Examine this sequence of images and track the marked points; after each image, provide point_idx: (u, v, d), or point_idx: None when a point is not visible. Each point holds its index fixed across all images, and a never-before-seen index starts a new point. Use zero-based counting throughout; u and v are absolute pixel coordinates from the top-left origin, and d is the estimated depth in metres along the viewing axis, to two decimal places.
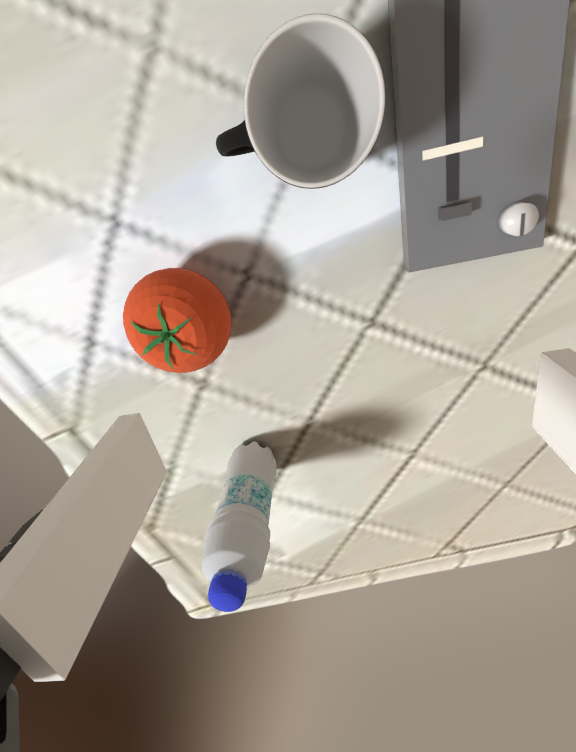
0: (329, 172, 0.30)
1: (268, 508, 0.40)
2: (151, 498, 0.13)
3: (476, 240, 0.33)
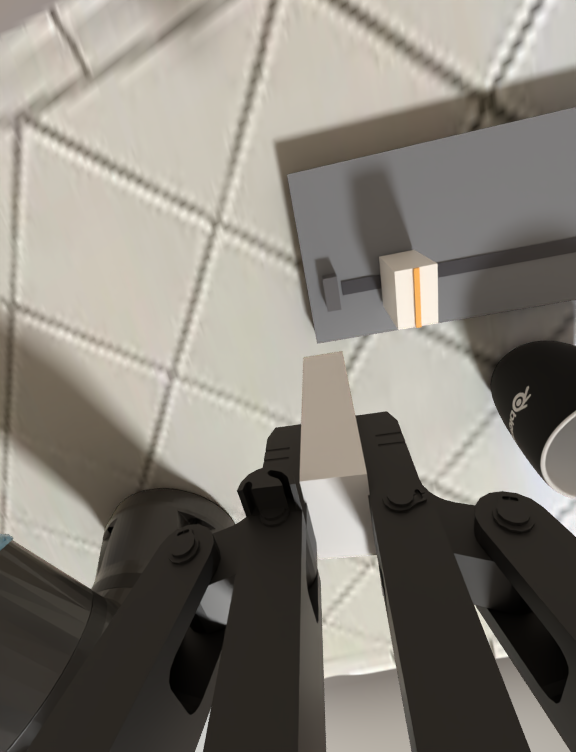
0: None
1: None
2: None
3: None
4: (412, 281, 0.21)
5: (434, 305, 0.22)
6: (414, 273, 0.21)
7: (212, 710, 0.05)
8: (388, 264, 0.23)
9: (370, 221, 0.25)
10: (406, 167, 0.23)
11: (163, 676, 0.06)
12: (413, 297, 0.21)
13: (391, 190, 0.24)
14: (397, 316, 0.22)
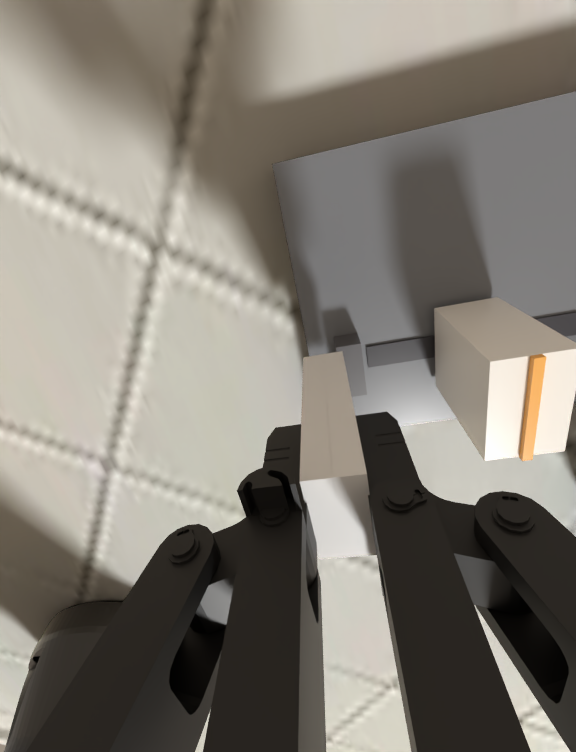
0: None
1: None
2: None
3: None
4: (525, 379, 0.10)
5: (562, 421, 0.11)
6: (532, 365, 0.10)
7: (212, 710, 0.05)
8: (464, 334, 0.12)
9: (421, 248, 0.14)
10: (496, 150, 0.12)
11: (163, 676, 0.06)
12: (522, 408, 0.11)
13: (464, 193, 0.13)
14: (485, 438, 0.11)
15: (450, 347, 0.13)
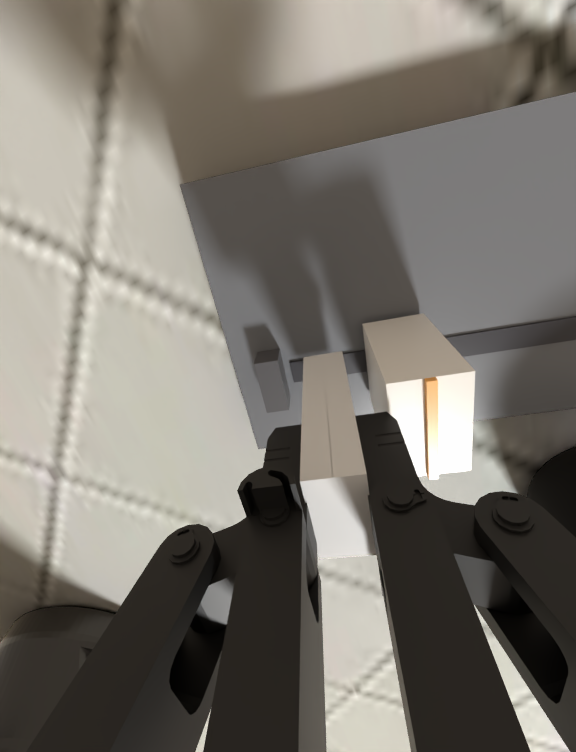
0: None
1: None
2: None
3: None
4: (422, 401, 0.10)
5: (464, 442, 0.11)
6: (427, 388, 0.10)
7: (212, 710, 0.05)
8: (376, 353, 0.12)
9: (334, 267, 0.14)
10: (397, 172, 0.12)
11: (163, 676, 0.06)
12: (424, 429, 0.11)
13: (370, 214, 0.13)
14: None
15: (371, 364, 0.13)
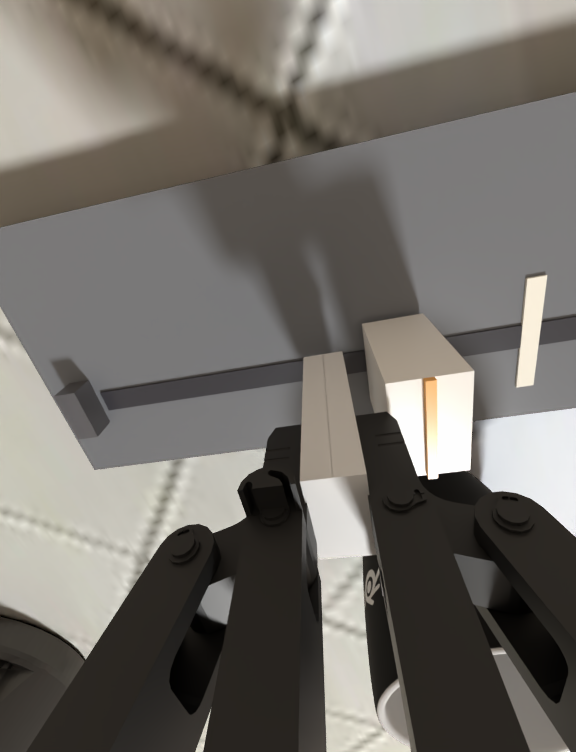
0: None
1: None
2: None
3: None
4: (421, 401, 0.10)
5: (464, 442, 0.11)
6: (426, 388, 0.10)
7: (212, 710, 0.05)
8: (375, 352, 0.12)
9: (117, 308, 0.15)
10: (149, 227, 0.14)
11: (164, 676, 0.06)
12: (423, 429, 0.11)
13: (136, 263, 0.14)
14: None
15: (371, 364, 0.13)
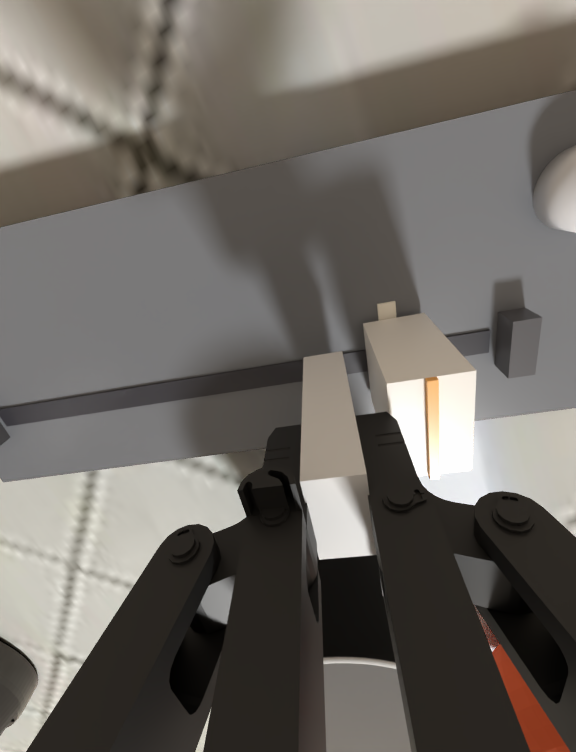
0: None
1: None
2: None
3: None
4: (423, 401, 0.10)
5: (466, 442, 0.11)
6: (428, 388, 0.10)
7: (212, 710, 0.05)
8: (376, 352, 0.12)
9: None
10: (17, 257, 0.14)
11: (163, 676, 0.06)
12: (425, 429, 0.11)
13: (10, 289, 0.15)
14: None
15: (372, 364, 0.13)
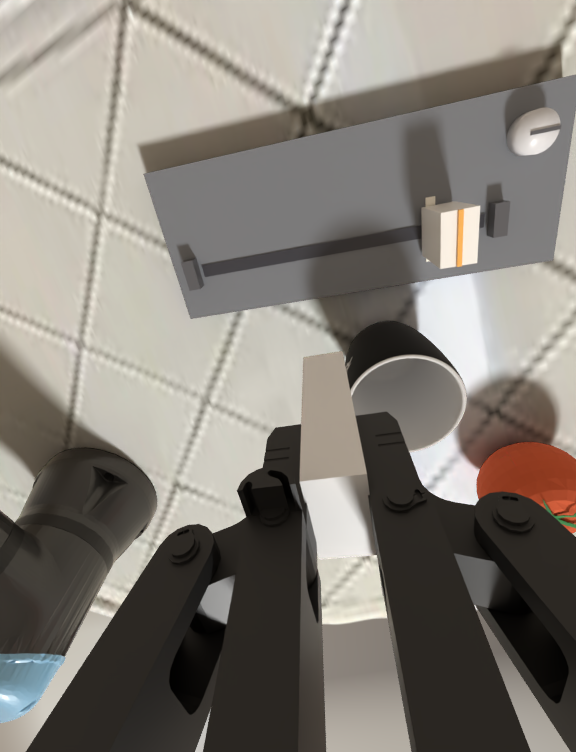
0: None
1: None
2: None
3: (540, 179, 0.27)
4: (456, 222, 0.24)
5: (474, 245, 0.24)
6: (458, 215, 0.23)
7: (212, 710, 0.05)
8: (433, 210, 0.25)
9: (217, 214, 0.29)
10: (239, 169, 0.28)
11: (163, 676, 0.06)
12: (456, 238, 0.24)
13: (230, 188, 0.28)
14: (440, 256, 0.25)
15: (428, 223, 0.27)
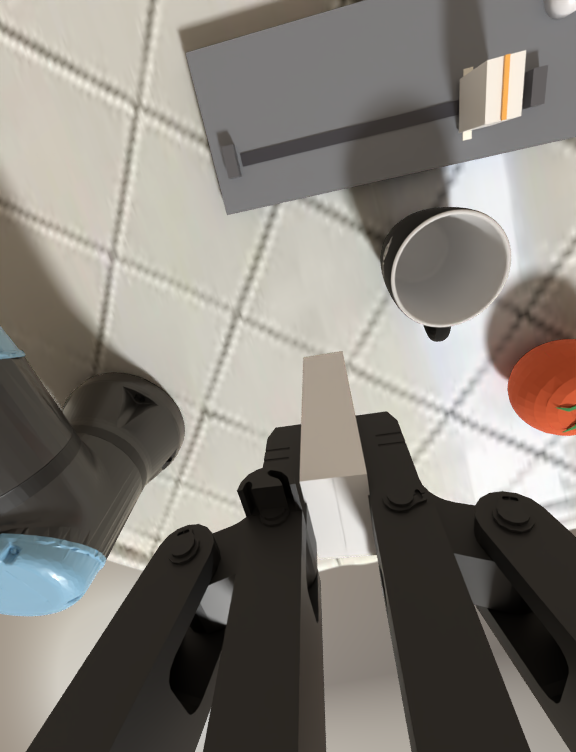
0: (464, 240, 0.33)
1: None
2: None
3: None
4: (502, 70, 0.24)
5: (519, 96, 0.25)
6: (505, 61, 0.24)
7: (212, 710, 0.05)
8: (475, 68, 0.26)
9: (257, 95, 0.30)
10: (281, 44, 0.28)
11: (163, 676, 0.06)
12: (501, 88, 0.25)
13: (271, 66, 0.29)
14: (485, 110, 0.25)
15: (468, 88, 0.27)
